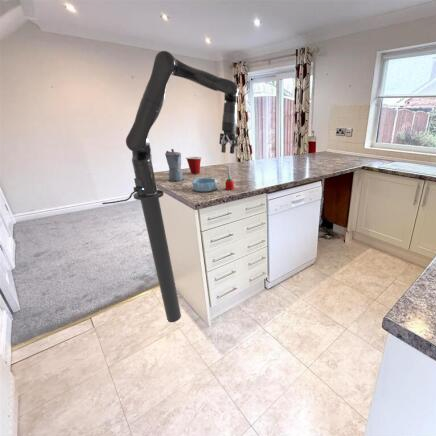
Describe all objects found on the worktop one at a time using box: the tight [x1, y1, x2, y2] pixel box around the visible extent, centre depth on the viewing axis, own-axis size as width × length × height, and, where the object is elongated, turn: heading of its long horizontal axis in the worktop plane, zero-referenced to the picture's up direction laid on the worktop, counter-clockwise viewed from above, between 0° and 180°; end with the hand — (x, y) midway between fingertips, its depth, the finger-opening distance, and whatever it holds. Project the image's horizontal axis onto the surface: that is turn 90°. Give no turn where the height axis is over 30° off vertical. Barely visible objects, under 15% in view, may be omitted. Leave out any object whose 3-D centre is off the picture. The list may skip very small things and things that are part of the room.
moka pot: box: [164, 148, 184, 182], centre depth 160 cm, size 10×15×20 cm, turn 58°
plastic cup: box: [185, 156, 202, 175], centre depth 179 cm, size 11×11×12 cm
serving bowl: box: [191, 177, 218, 193], centre depth 146 cm, size 14×14×5 cm
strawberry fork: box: [224, 165, 235, 191], centre depth 146 cm, size 5×5×14 cm
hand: (227, 153), depth 137 cm, fingers open, 8 cm apart
